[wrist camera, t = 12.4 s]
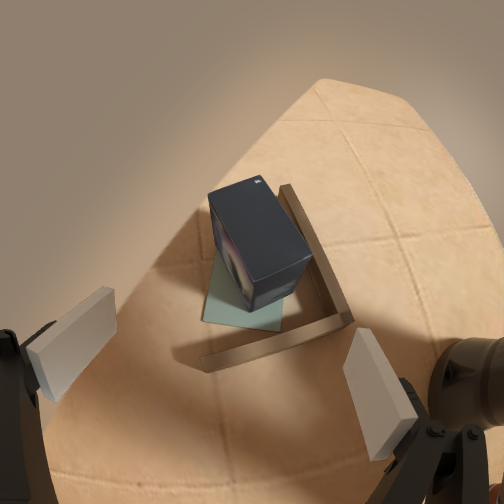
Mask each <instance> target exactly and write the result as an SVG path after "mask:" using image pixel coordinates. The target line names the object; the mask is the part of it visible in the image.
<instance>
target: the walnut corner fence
mask: <svg viewBox="0 0 504 504" xmlns="http://www.w3.org/2000/svg"><path fill="white" fill-rule="evenodd" d="M278 201H279V202H280V204H281V205H282V207H283V208H284V210H285V211H286V212H287V214H288V216H289V217H290V218H291V220H292V222H293V223H294V225H295V226H296V228H297V229H298V231H299V232H300V234H301V235H302V237H303V238H304V240H305V241H306V243H307V245H308V246H309V248H310V249H311V251H312V253H313V255H312V257H311V259H310V260H309V262H308V263H307V265H306V267H307V269H308V272H309V274H310V276H311V279H312V281H313V284H314V286H315V288H316V291H317V293H318V295H319V298H320V300H321V303H322V305H323V308H324V310H325V312H326V315H327V318H324V319H322V320H319V321H316V322H313V323H311V324H308V325H305V326H302V327H299V328H296V329H293V330H290V331H287V332H284V333H281V334H278V335H275V336H272V337H269V338H266V339H263V340H260V341H256V342H253V343H250V344H246V345H243V346H240V347H236V348H233V349H229V350H226V351H222V352H218V353H215V354H211V355H207V356H203V357H200V361H201V364H202V367H203V371H204V372H206V373H210V372H214V371H218V370H221V369H225V368H229V367H232V366H236V365H239V364H243V363H246V362H249V361H253V360H256V359H259V358H262V357H265V356H269V355H272V354H275V353H278V352H281V351H284V350H287V349H289V348H292V347H295V346H298V345H301V344H304V343H306V342H309V341H312V340H314V339H317V338H320V337H322V336H325V335H328V334H330V333H333V332H335V331H338V330H340V329H343V328H345V327H346V326H348V325H349V324H351V323H352V322H354V321H355V320H354V318H353V316H352V313H351V311H350V308H349V306H348V304H347V301H346V299H345V297H344V294H343V292H342V290H341V288H340V285H339V283H338V281H337V279H336V276H335V274H334V272H333V270H332V268H331V265H330V263H329V261H328V259H327V257H326V255H325V253H324V250H323V248H322V246H321V244H320V242H319V240H318V238H317V236H316V234H315V232H314V230H313V228H312V225H311V223H310V221H309V219H308V217H307V215H306V213H305V211H304V209H303V207H302V206H301V204H300V202H299V200H298V198H297V196H296V194H295V192H294V190H293V188H292V186H291V184H286V185H281V186H280V189H279V194H278Z"/></svg>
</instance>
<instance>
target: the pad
mask: <svg viewBox="0 0 504 504" xmlns="http://www.w3.org/2000/svg"><path fill="white" fill-rule="evenodd" d="M282 308H283V298H281V299H279V300H277V301H275V302H273V303H271V304H269V305H267V306H265V307H263V308H260V309H258V310H256V311H254V312H251V313H249V312H248V310H247V308H246V306H245V304H244V302H243V300H242V298H241V296H240V294H239V292H238V290H237V288H236V286H235V284H234V282H233V280H232V278H231V276H230V274H229V272H228V270H227V268H226V266H225V264H224V262H223V260H222V258H221V255H220V253H219V251H218V249H217V250H216V255H215V260H214V265H213V270H212V275H211V280H210V285H209V290H208V295H207V301H206V306H205V311H204V317H203V322H208V323H215V324H221V325H228V326H235V327H242V328H249V329H257V330H265V331H274V332H280V329H281V319H282Z"/></svg>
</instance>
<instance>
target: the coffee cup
mask: <svg viewBox="0 0 504 504" xmlns="http://www.w3.org/2000/svg"><path fill="white" fill-rule="evenodd" d="M500 488H501V483H496V484H494V485H493V486H491V487H490V488H489V504H496V501H497V496H498V493H499V491H500Z"/></svg>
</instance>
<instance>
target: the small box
mask: <svg viewBox="0 0 504 504" xmlns="http://www.w3.org/2000/svg"><path fill="white" fill-rule="evenodd" d="M208 200H209V207H210V214H211V220H212V227H213V234H214V240H215V245H216V247H217V249H218V251H219V253H220V255H221V258H222V260H223V262H224V264H225V266H226V268H227V270H228V272H229V274H230V276H231V278H232V280H233V282H234V284H235V286H236V288H237V290H238V292H239V294H240V296H241V298H242V300H243V302H244V304H245V306H246V308H247V310H248V312H249V313H251V312H254V311H256V310H258V309H260V308H263V307H265V306H267V305H269V304H271V303H273V302H275V301H277V300H279V299H281V298H284V297H286V296H288V295H290V294H292V293H293V292H294V289H295V287H296V285H297V283H298V281H299V279H300V277H301V275H302V273H303V272H304V269H305V267H306V265H307V263H308V262H309V260H310V259H311V257H312V255H313V253H312V251H311V249H310V248H309V246H308V245H307V243H306V241H305V240H304V238H303V237H302V235H301V234H300V232H299V231H298V229H297V228H296V226H295V225H294V223H293V222H292V220H291V218H290V217H289V216H288V214H287V212H286V211H285V210H284V208H283V207H282V205H281V204H280V202H279V201H278V199H277V198H276V196H275V195H274V193H273V192H272V190H271V189H270V187H269V186H268V185H267V183H266V182H265V180H264V179H263V177H262V176H261V175H257V176H254V177H252V178H249V179H246V180H243V181H240V182H237V183H235V184H232V185H229V186H226V187H223V188H221V189H218V190H215V191H213V192H210V193H208Z"/></svg>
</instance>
